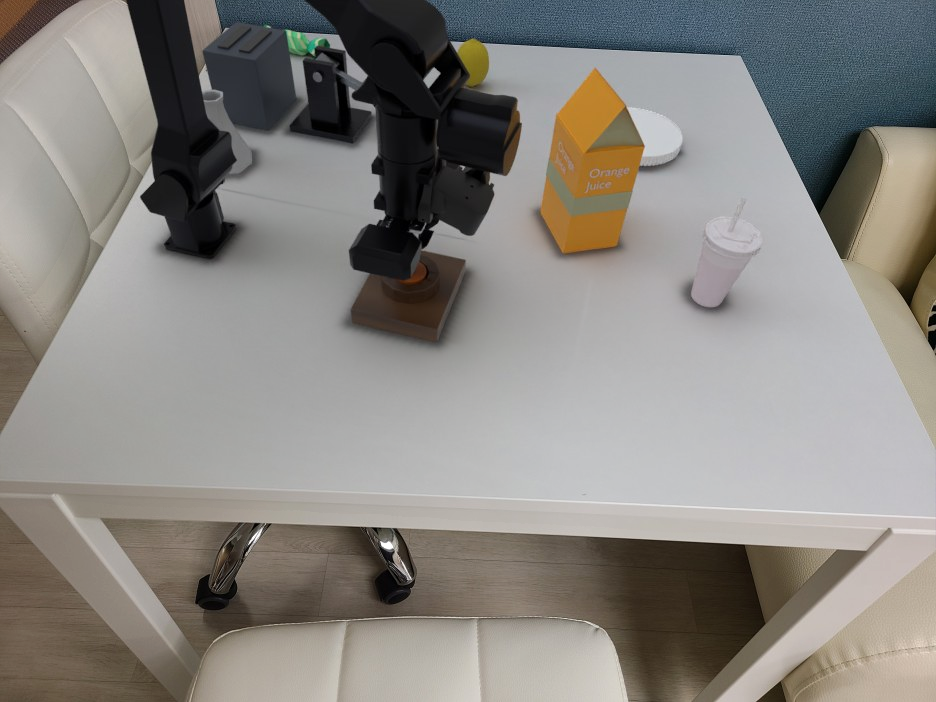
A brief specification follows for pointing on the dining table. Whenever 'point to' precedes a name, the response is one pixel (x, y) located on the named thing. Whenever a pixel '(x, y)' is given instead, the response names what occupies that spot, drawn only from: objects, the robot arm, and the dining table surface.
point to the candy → (303, 43)
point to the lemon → (474, 60)
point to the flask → (227, 129)
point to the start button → (416, 275)
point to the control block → (411, 299)
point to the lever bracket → (329, 101)
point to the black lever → (341, 73)
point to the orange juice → (591, 168)
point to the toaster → (252, 74)
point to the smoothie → (724, 256)
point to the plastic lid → (656, 136)
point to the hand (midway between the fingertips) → (409, 270)
